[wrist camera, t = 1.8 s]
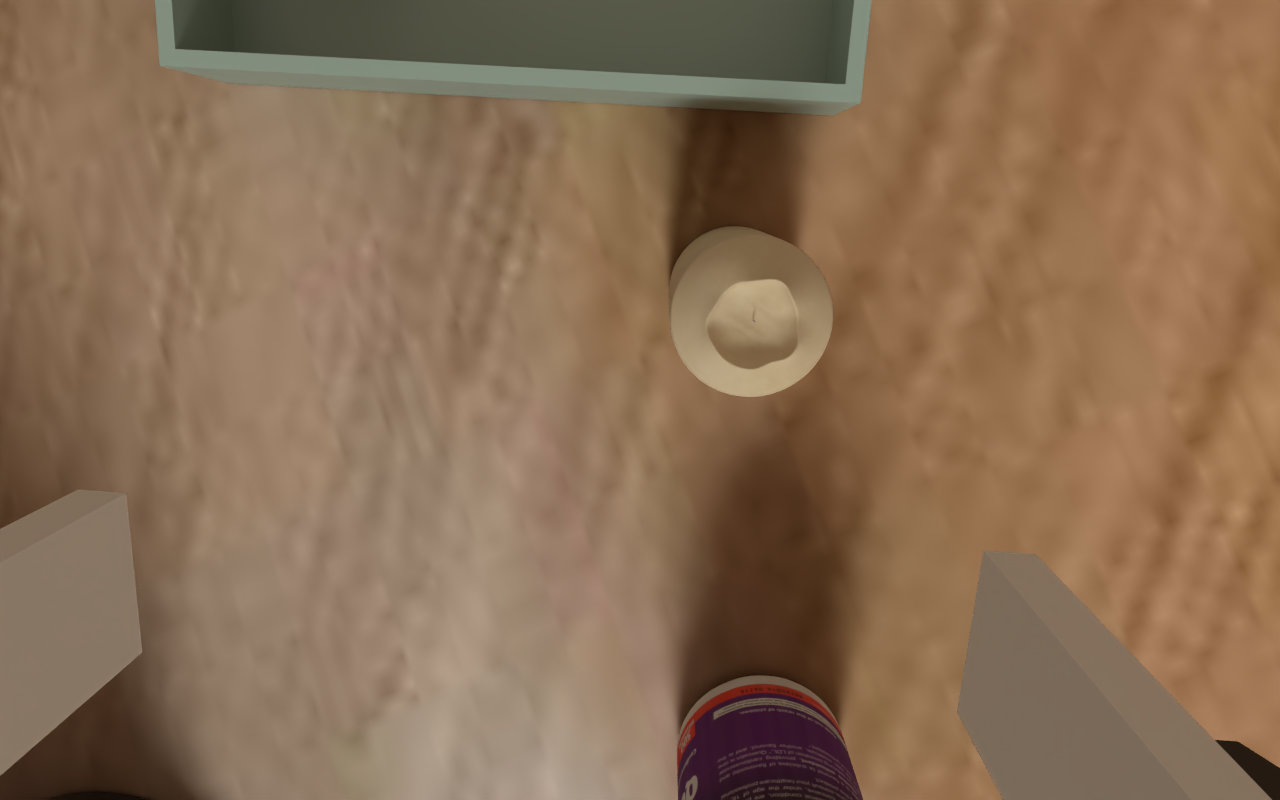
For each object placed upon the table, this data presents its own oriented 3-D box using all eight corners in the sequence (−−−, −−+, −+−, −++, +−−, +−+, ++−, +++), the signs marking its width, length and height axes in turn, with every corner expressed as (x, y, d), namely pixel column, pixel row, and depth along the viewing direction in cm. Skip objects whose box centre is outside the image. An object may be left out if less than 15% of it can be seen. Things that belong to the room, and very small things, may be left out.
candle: (721, 198, 36) (741, 200, 26) (822, 277, 37) (878, 307, 27) (643, 302, 37) (635, 340, 28) (742, 377, 38) (769, 439, 28)
